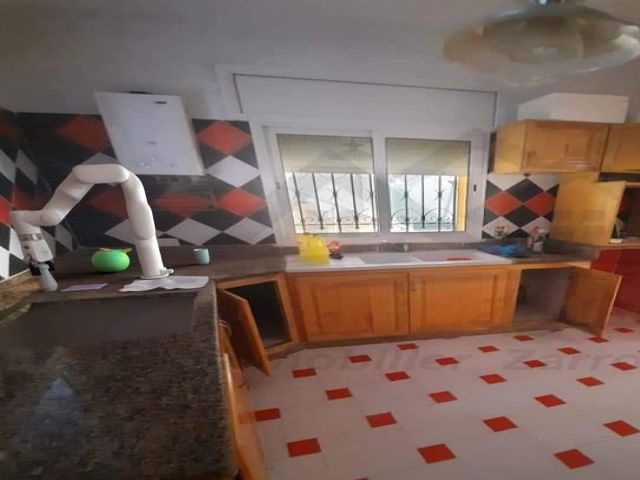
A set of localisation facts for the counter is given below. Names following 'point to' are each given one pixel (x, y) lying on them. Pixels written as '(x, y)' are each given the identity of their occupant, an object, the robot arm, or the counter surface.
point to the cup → (201, 256)
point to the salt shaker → (46, 279)
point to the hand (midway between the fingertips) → (44, 273)
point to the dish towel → (84, 287)
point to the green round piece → (111, 260)
